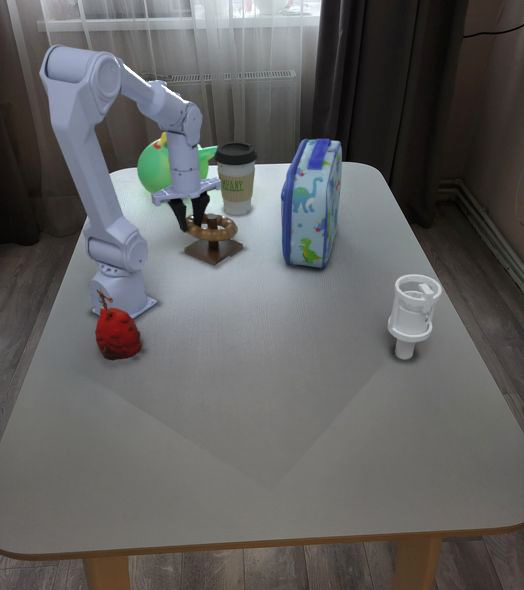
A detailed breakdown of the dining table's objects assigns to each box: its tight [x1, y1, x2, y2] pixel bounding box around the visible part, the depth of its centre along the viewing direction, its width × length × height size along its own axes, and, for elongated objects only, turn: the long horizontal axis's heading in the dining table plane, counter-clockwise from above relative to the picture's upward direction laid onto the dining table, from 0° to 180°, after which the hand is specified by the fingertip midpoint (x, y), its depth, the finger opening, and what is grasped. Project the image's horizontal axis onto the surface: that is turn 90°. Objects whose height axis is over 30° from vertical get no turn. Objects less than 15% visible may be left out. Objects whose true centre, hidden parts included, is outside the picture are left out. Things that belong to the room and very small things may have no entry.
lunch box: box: [280, 138, 343, 269], centre depth 116 cm, size 26×11×21 cm, turn 168°
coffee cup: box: [213, 140, 258, 216], centre depth 130 cm, size 10×10×15 cm
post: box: [184, 213, 244, 267], centre depth 118 cm, size 9×9×8 cm
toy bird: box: [136, 131, 219, 195], centre depth 136 cm, size 18×17×15 cm
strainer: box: [387, 273, 442, 360], centre depth 91 cm, size 7×7×15 cm
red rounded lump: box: [94, 287, 142, 361], centre depth 91 cm, size 8×7×15 cm
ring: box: [185, 212, 239, 241], centre depth 119 cm, size 12×12×2 cm
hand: (190, 228), depth 116 cm, fingers closed on ring, 3 cm apart
